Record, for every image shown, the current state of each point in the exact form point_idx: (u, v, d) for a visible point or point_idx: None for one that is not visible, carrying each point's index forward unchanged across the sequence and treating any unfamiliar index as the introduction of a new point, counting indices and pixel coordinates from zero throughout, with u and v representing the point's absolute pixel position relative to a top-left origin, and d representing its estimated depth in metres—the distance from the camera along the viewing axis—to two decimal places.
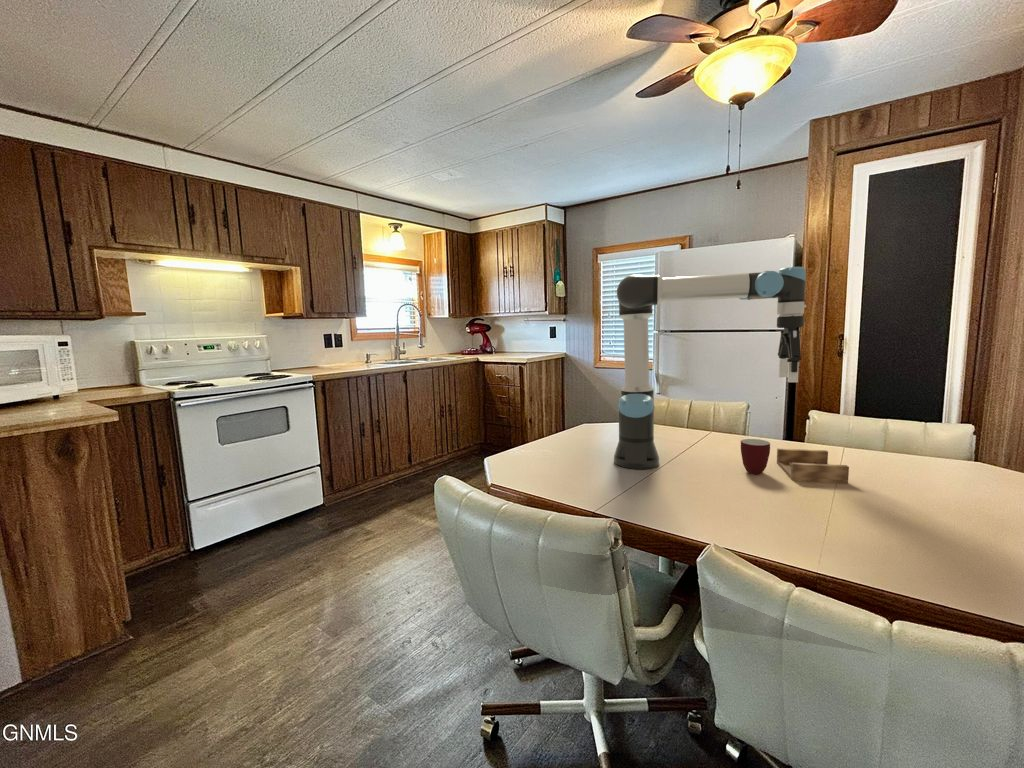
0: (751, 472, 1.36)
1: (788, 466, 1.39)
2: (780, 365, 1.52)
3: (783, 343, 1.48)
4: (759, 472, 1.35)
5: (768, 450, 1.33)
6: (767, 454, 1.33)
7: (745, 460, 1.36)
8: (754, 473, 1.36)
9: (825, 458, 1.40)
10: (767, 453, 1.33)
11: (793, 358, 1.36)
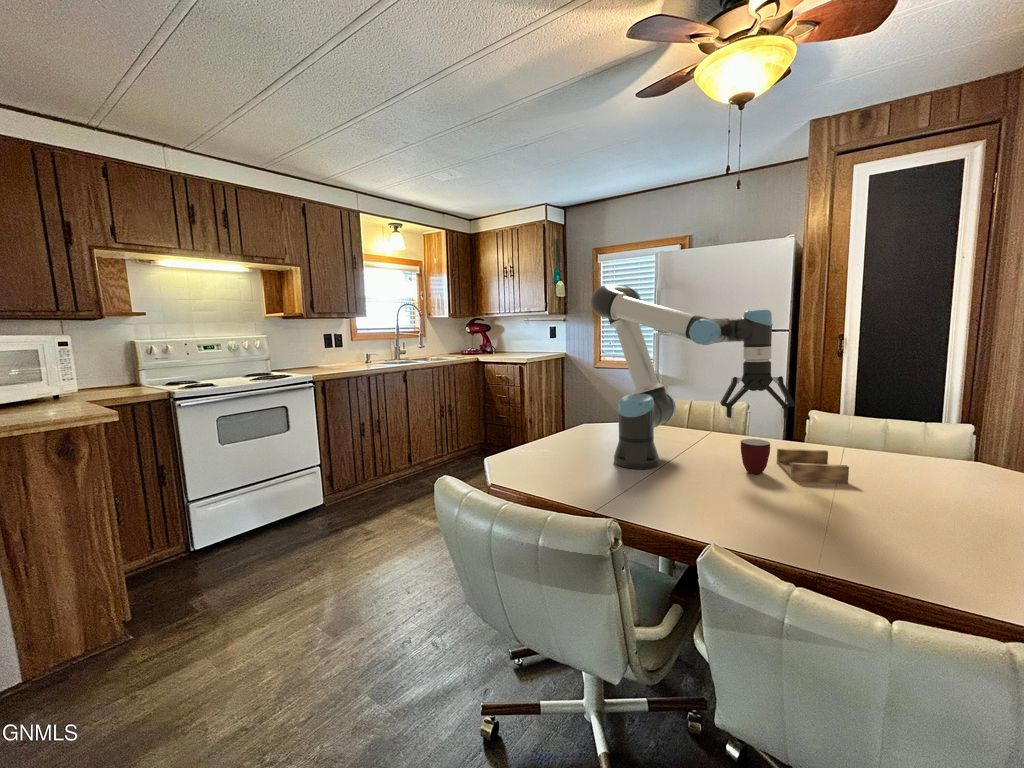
0: (751, 472, 1.36)
1: (788, 466, 1.39)
2: (778, 414, 1.35)
3: (766, 389, 1.36)
4: (759, 472, 1.35)
5: (768, 450, 1.33)
6: (767, 454, 1.33)
7: (745, 460, 1.36)
8: (754, 473, 1.36)
9: (825, 458, 1.40)
10: (767, 453, 1.33)
11: (720, 402, 1.40)
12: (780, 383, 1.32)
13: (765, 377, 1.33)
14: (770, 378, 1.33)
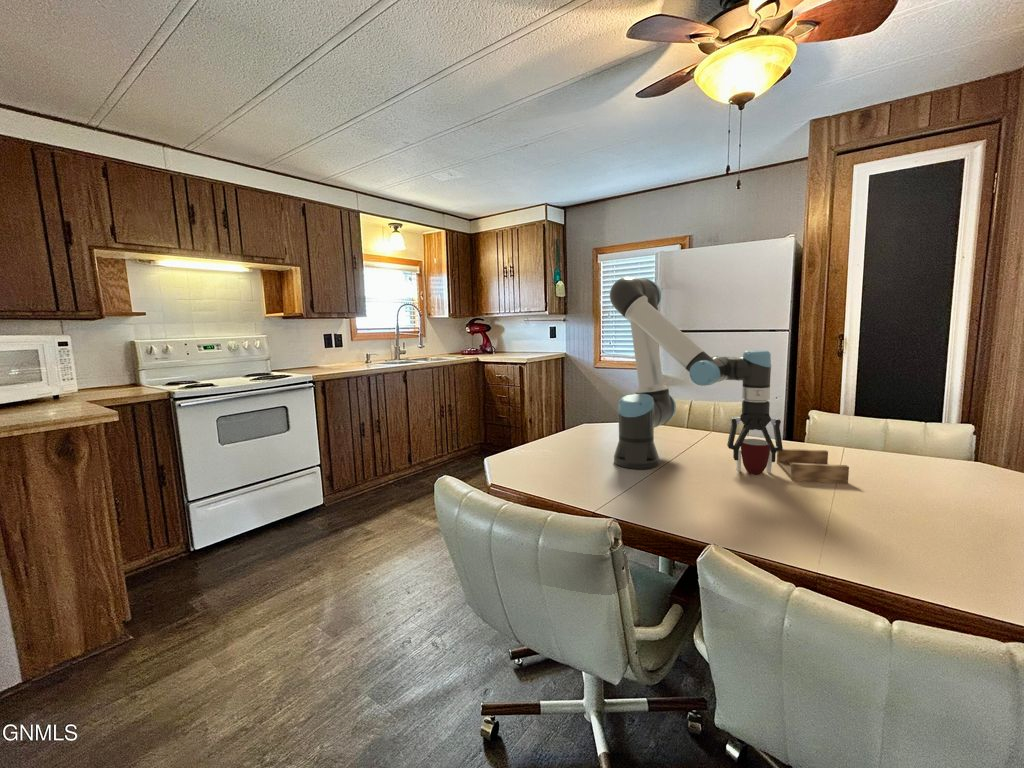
0: (751, 472, 1.36)
1: (788, 466, 1.39)
2: None
3: (761, 429, 1.38)
4: (759, 472, 1.35)
5: (768, 450, 1.33)
6: (767, 454, 1.33)
7: (745, 460, 1.36)
8: (754, 473, 1.36)
9: (825, 458, 1.40)
10: (767, 453, 1.33)
11: (727, 445, 1.41)
12: (776, 426, 1.34)
13: (764, 416, 1.35)
14: (768, 418, 1.35)
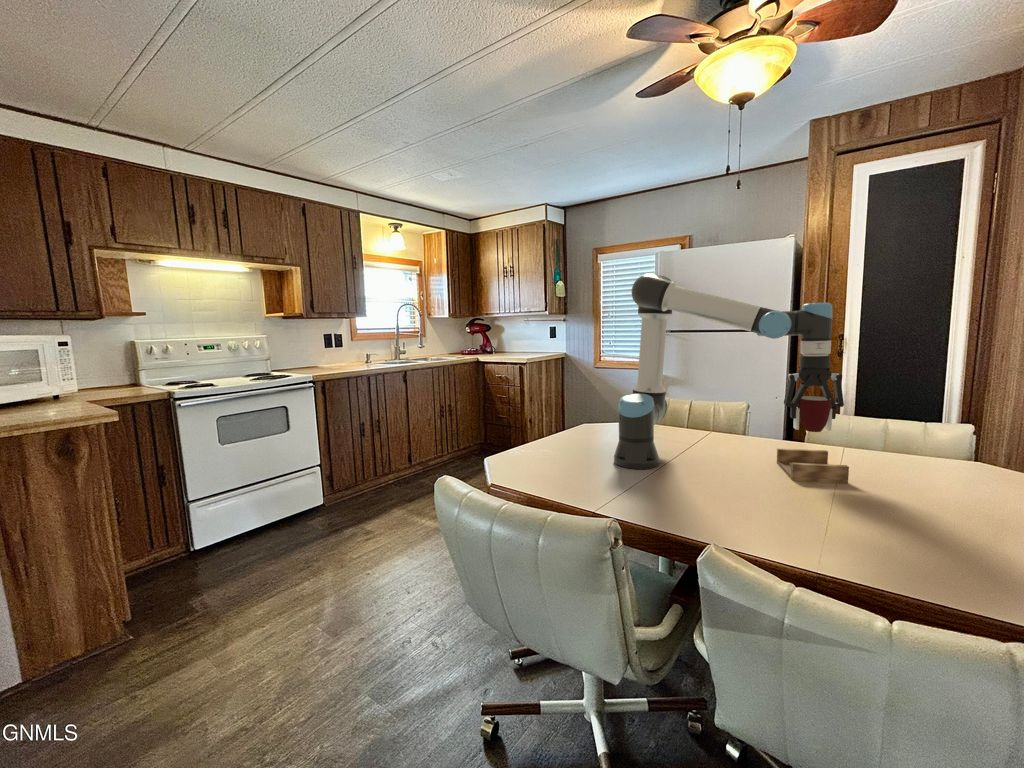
0: (811, 429, 1.31)
1: (788, 466, 1.39)
2: None
3: (820, 386, 1.33)
4: (819, 429, 1.30)
5: (830, 406, 1.29)
6: (828, 410, 1.29)
7: (804, 417, 1.32)
8: (814, 430, 1.31)
9: (825, 458, 1.40)
10: (829, 409, 1.29)
11: (784, 403, 1.36)
12: (837, 381, 1.29)
13: (825, 371, 1.30)
14: (829, 373, 1.30)
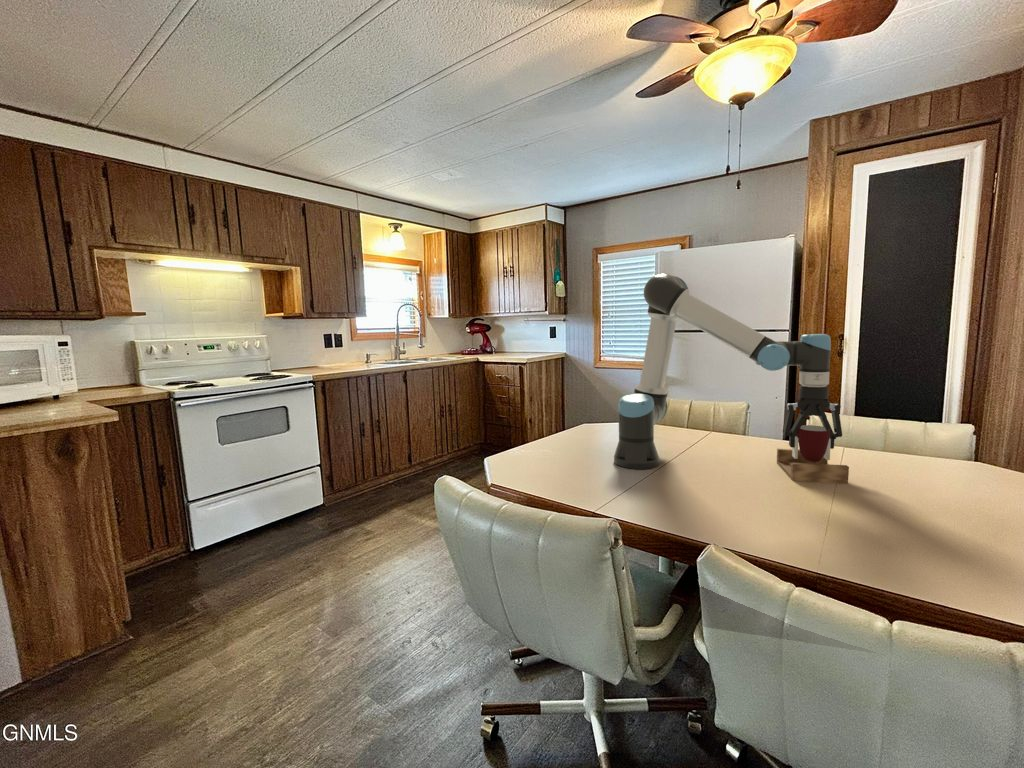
0: (809, 459, 1.33)
1: (788, 466, 1.39)
2: None
3: (818, 415, 1.34)
4: (818, 459, 1.32)
5: (828, 436, 1.30)
6: (827, 440, 1.30)
7: (803, 447, 1.33)
8: (813, 460, 1.32)
9: None
10: (827, 439, 1.30)
11: (783, 432, 1.37)
12: (835, 411, 1.31)
13: (823, 401, 1.31)
14: (827, 404, 1.31)
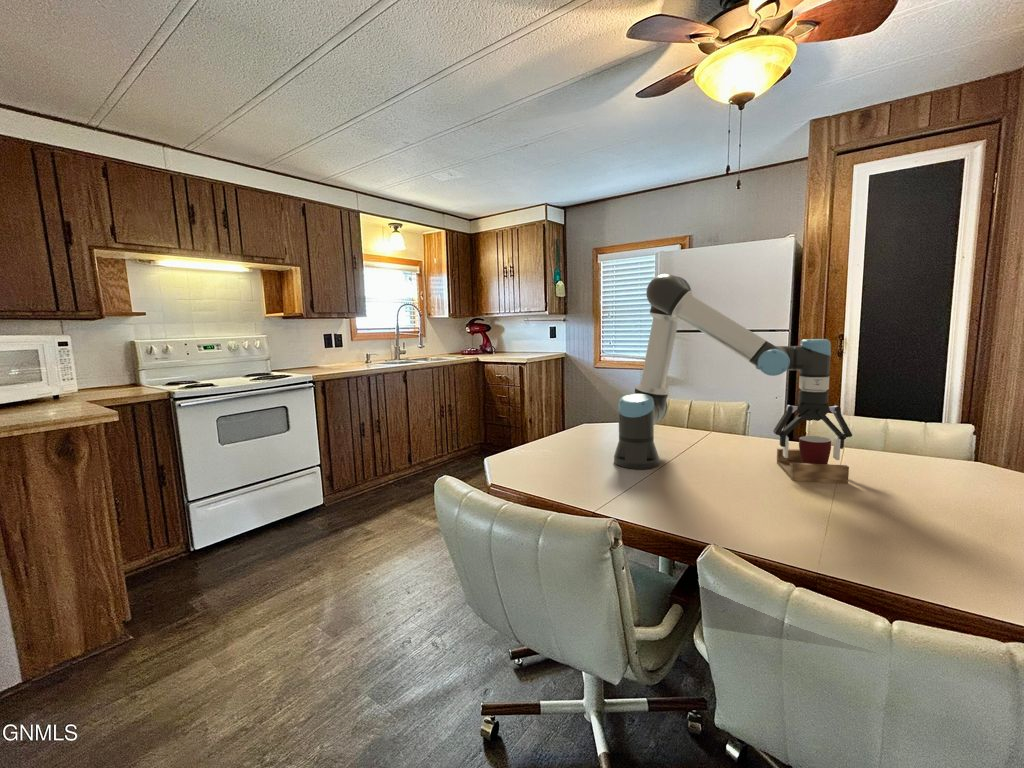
0: None
1: (788, 466, 1.39)
2: (834, 444, 1.34)
3: (822, 419, 1.34)
4: None
5: (829, 447, 1.30)
6: (829, 451, 1.30)
7: (805, 458, 1.33)
8: None
9: None
10: (829, 450, 1.30)
11: (773, 431, 1.38)
12: (837, 413, 1.31)
13: (822, 407, 1.32)
14: (827, 408, 1.31)
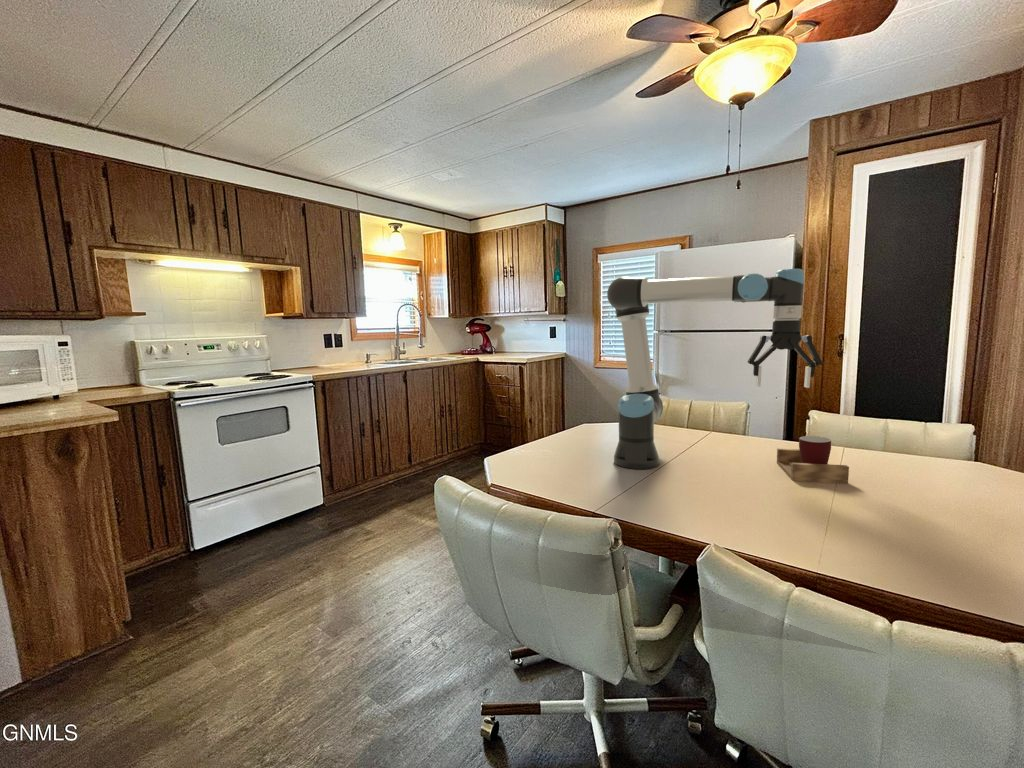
0: None
1: (788, 466, 1.39)
2: (805, 373, 1.39)
3: (794, 349, 1.39)
4: None
5: (829, 447, 1.30)
6: (829, 451, 1.30)
7: (805, 458, 1.33)
8: None
9: None
10: (829, 450, 1.30)
11: (748, 361, 1.43)
12: (809, 342, 1.35)
13: (794, 336, 1.36)
14: (799, 337, 1.36)
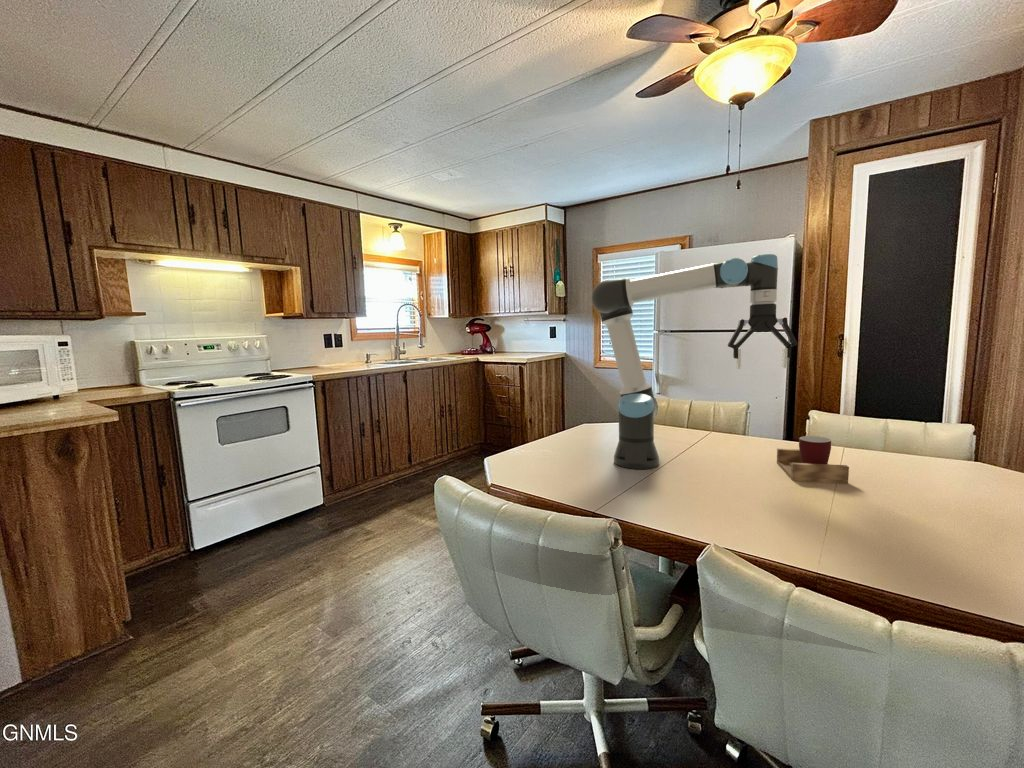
0: None
1: (788, 466, 1.39)
2: (782, 355, 1.44)
3: (771, 331, 1.45)
4: None
5: (829, 447, 1.30)
6: (829, 451, 1.30)
7: (805, 458, 1.33)
8: None
9: None
10: (829, 450, 1.30)
11: None
12: (784, 324, 1.41)
13: (770, 319, 1.42)
14: (775, 319, 1.42)
